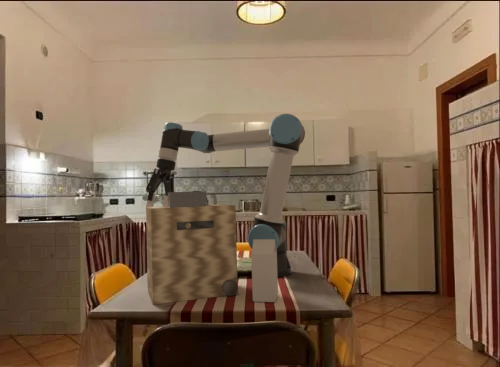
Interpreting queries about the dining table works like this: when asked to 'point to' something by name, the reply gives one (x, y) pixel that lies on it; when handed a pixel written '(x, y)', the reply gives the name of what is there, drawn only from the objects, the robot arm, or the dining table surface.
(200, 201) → the t handle
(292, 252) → the dining table surface
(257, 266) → the milk carton
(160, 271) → the zigzag patterned box
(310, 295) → the dining table surface
